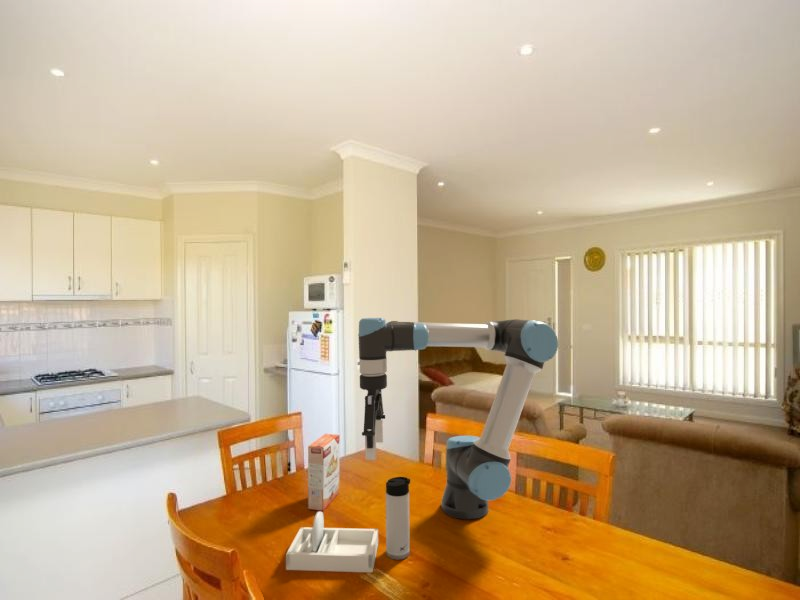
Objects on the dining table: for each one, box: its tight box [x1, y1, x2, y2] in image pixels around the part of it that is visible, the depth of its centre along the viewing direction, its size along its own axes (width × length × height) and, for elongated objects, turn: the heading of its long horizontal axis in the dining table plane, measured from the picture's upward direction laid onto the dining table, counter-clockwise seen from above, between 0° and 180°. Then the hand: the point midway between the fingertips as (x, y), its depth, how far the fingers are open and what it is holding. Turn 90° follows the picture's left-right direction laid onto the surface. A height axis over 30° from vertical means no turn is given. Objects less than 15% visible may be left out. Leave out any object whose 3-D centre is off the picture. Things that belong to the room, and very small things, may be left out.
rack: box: [285, 511, 379, 573], centre depth 116 cm, size 22×13×11 cm, turn 87°
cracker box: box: [307, 433, 340, 512], centre depth 147 cm, size 14×6×21 cm, turn 166°
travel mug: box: [385, 476, 411, 561], centre depth 117 cm, size 6×7×20 cm
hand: (374, 450), depth 120 cm, fingers open, 13 cm apart
